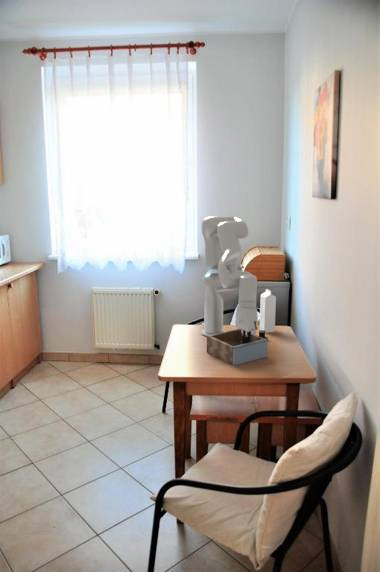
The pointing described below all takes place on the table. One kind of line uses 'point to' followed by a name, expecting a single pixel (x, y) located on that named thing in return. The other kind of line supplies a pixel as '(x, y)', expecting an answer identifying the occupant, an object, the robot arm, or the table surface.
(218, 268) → the robot arm
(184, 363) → the table surface
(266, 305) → the milk
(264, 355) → the panel
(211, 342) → the crate
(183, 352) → the table surface
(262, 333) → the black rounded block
